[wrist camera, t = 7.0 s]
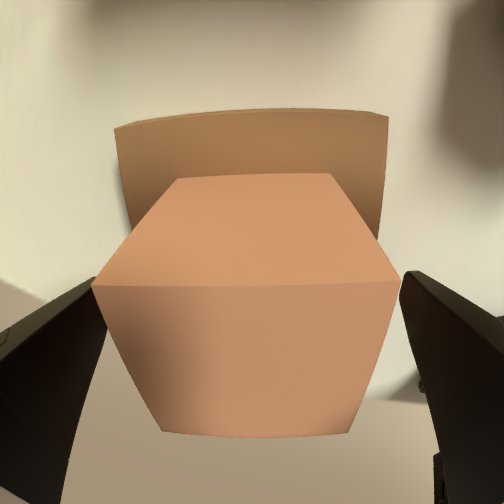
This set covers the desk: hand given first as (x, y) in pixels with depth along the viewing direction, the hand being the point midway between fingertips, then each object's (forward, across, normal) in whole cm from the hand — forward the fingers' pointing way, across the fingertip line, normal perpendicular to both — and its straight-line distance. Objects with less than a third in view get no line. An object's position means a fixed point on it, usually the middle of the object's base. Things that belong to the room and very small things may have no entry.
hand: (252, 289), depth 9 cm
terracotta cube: (+3, 0, 0) cm, 3 cm away
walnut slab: (+5, 0, 0) cm, 5 cm away
